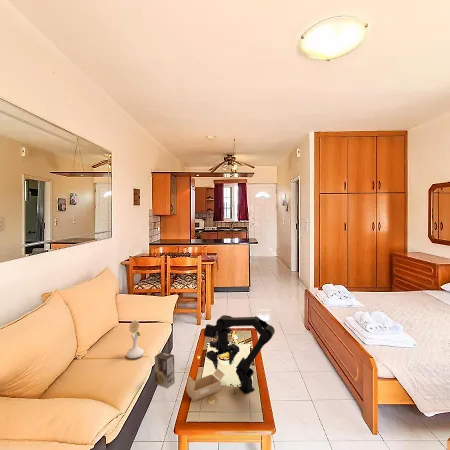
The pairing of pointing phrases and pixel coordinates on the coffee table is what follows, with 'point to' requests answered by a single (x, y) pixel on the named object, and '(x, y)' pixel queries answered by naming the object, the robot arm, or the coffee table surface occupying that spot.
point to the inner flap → (218, 374)
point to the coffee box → (164, 369)
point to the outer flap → (191, 382)
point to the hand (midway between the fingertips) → (223, 366)
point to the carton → (204, 387)
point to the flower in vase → (134, 341)
